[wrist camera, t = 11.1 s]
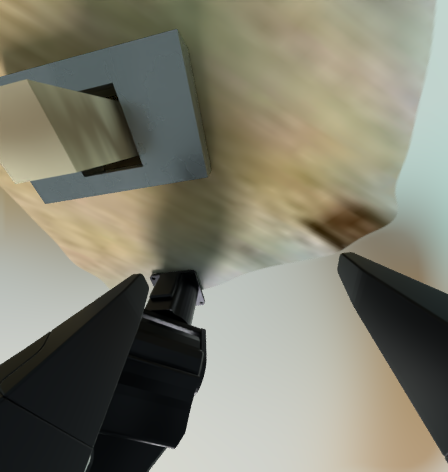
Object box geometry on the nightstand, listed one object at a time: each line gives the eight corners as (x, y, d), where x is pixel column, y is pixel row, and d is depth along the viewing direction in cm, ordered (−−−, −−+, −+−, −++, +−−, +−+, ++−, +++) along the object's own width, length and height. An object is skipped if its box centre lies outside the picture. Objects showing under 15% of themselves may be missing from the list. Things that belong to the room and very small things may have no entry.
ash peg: (145, 153, 18) (76, 172, 10) (108, 160, 18) (15, 183, 11) (128, 103, 16) (26, 79, 8) (86, 113, 16) (-47, 98, 9)
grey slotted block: (211, 170, 18) (207, 177, 16) (69, 194, 20) (45, 203, 18) (187, 47, 14) (177, 28, 11) (9, 93, 16) (-35, 86, 13)
